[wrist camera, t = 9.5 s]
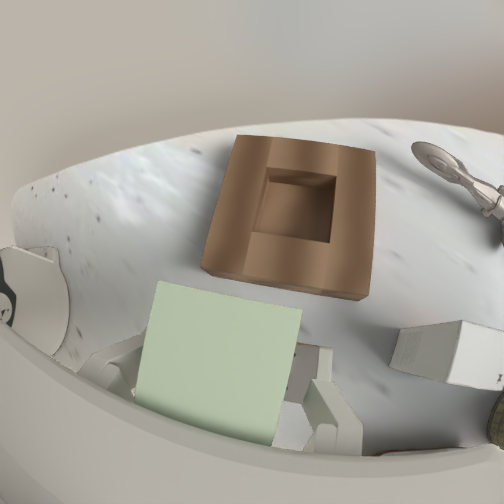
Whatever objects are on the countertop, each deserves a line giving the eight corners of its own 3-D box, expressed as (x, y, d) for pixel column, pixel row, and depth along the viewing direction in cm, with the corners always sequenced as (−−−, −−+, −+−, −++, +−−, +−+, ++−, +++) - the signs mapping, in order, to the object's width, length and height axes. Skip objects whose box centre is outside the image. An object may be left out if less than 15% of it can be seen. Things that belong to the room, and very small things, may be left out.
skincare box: (444, 338, 23) (517, 333, 11) (433, 377, 22) (503, 393, 10) (398, 326, 24) (462, 317, 13) (386, 367, 23) (444, 385, 12)
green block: (214, 374, 15) (132, 410, 6) (228, 309, 16) (158, 279, 7) (281, 389, 14) (268, 454, 6) (296, 322, 15) (302, 309, 7)
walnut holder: (212, 275, 29) (199, 266, 25) (243, 155, 32) (237, 134, 29) (358, 301, 26) (368, 295, 22) (367, 171, 29) (375, 151, 26)
